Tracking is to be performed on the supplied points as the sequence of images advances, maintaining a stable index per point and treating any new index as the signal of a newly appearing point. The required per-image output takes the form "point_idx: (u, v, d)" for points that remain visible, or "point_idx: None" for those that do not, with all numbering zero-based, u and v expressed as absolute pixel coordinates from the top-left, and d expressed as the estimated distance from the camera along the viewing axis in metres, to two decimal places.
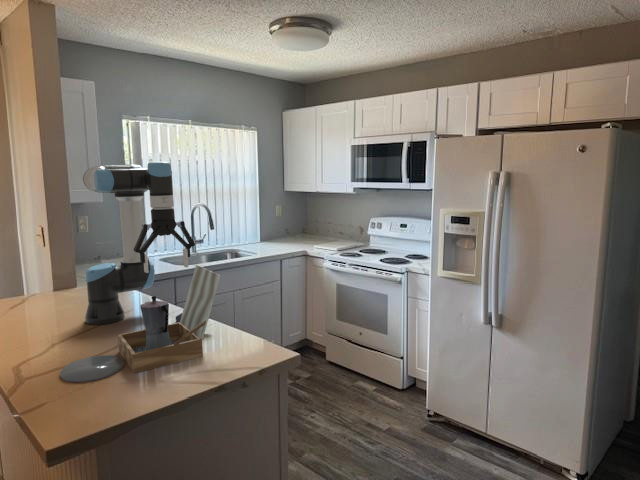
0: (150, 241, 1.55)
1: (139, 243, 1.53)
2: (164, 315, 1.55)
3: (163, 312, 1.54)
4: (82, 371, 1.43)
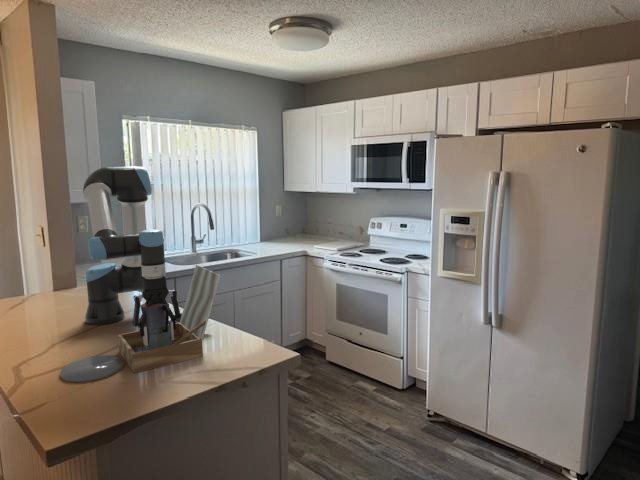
0: None
1: (136, 317, 1.51)
2: (164, 315, 1.55)
3: (163, 312, 1.54)
4: (82, 371, 1.43)
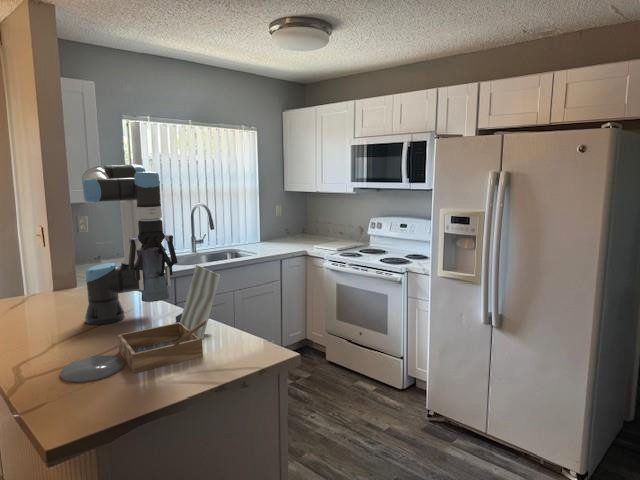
0: None
1: (132, 260, 1.48)
2: (161, 259, 1.52)
3: (159, 256, 1.52)
4: (82, 371, 1.43)
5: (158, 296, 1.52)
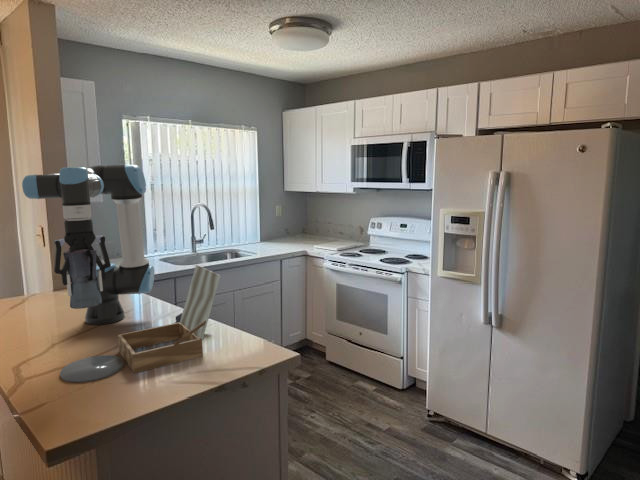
0: None
1: (57, 263, 1.36)
2: None
3: (89, 259, 1.40)
4: (82, 371, 1.43)
5: (88, 302, 1.40)
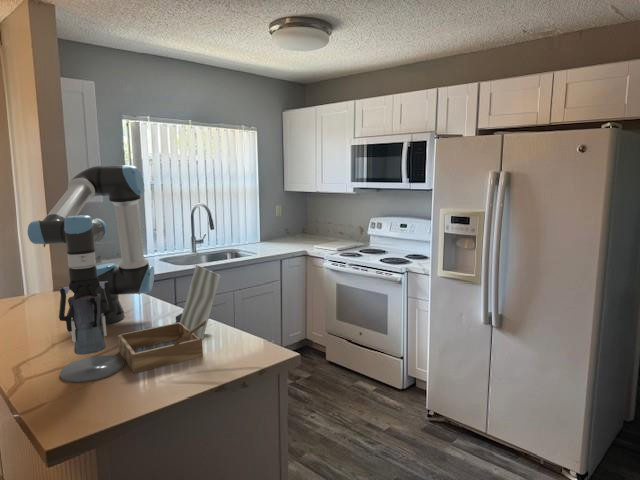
0: None
1: (61, 310, 1.38)
2: None
3: (93, 305, 1.42)
4: (82, 371, 1.43)
5: (92, 348, 1.42)
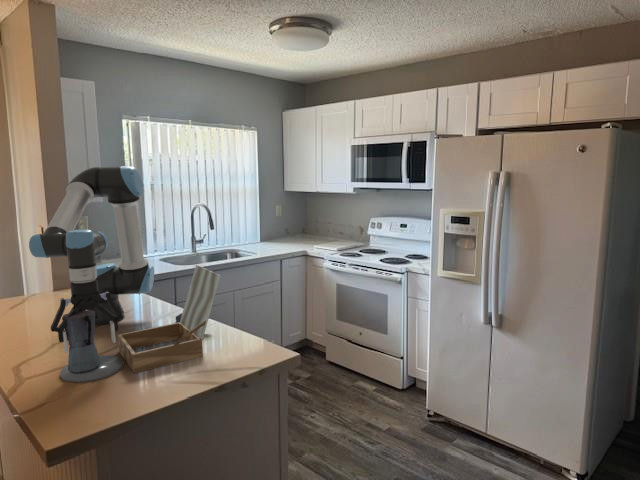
0: None
1: (56, 321, 1.38)
2: None
3: (87, 323, 1.41)
4: None
5: (86, 366, 1.42)
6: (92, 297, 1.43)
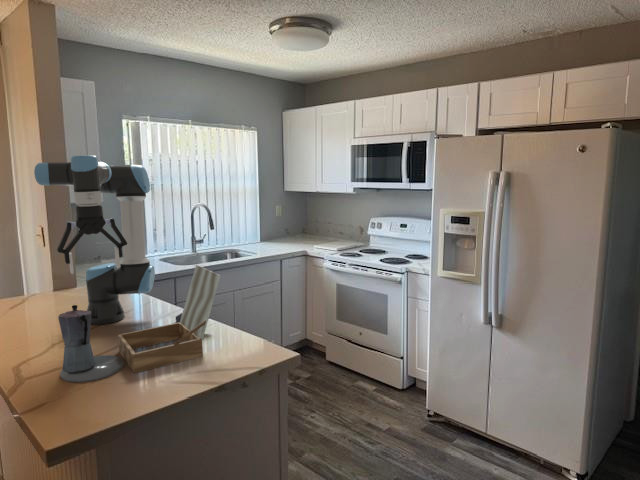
0: (75, 240, 1.45)
1: (62, 243, 1.43)
2: (85, 326, 1.42)
3: (83, 323, 1.42)
4: (82, 371, 1.43)
5: (81, 365, 1.41)
6: (97, 222, 1.48)
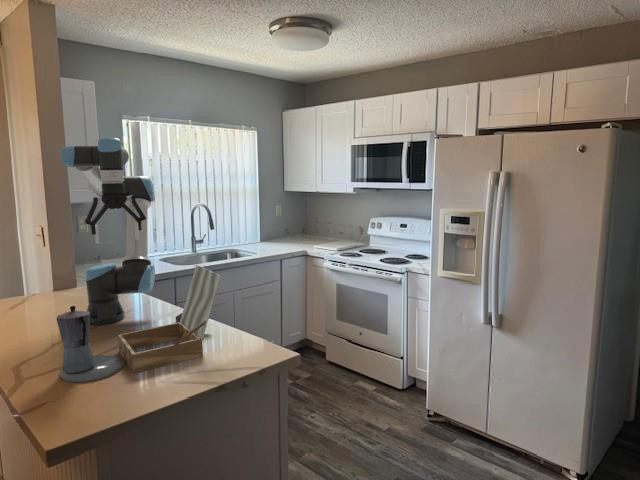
0: (100, 214, 1.63)
1: (89, 215, 1.61)
2: None
3: (82, 323, 1.41)
4: None
5: (80, 366, 1.41)
6: (120, 198, 1.66)
